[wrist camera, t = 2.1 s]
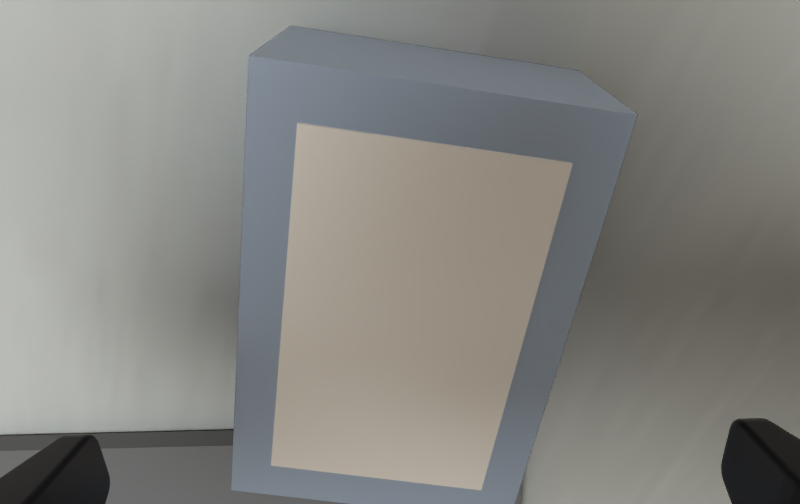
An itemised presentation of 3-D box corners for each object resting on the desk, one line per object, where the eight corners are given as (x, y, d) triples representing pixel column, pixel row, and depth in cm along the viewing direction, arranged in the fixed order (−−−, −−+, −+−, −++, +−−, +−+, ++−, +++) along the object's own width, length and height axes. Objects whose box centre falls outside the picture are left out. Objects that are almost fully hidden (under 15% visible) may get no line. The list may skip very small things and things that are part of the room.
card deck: (576, 68, 13) (639, 115, 10) (488, 401, 17) (509, 525, 14) (292, 24, 13) (247, 56, 9) (268, 374, 17) (230, 493, 13)
